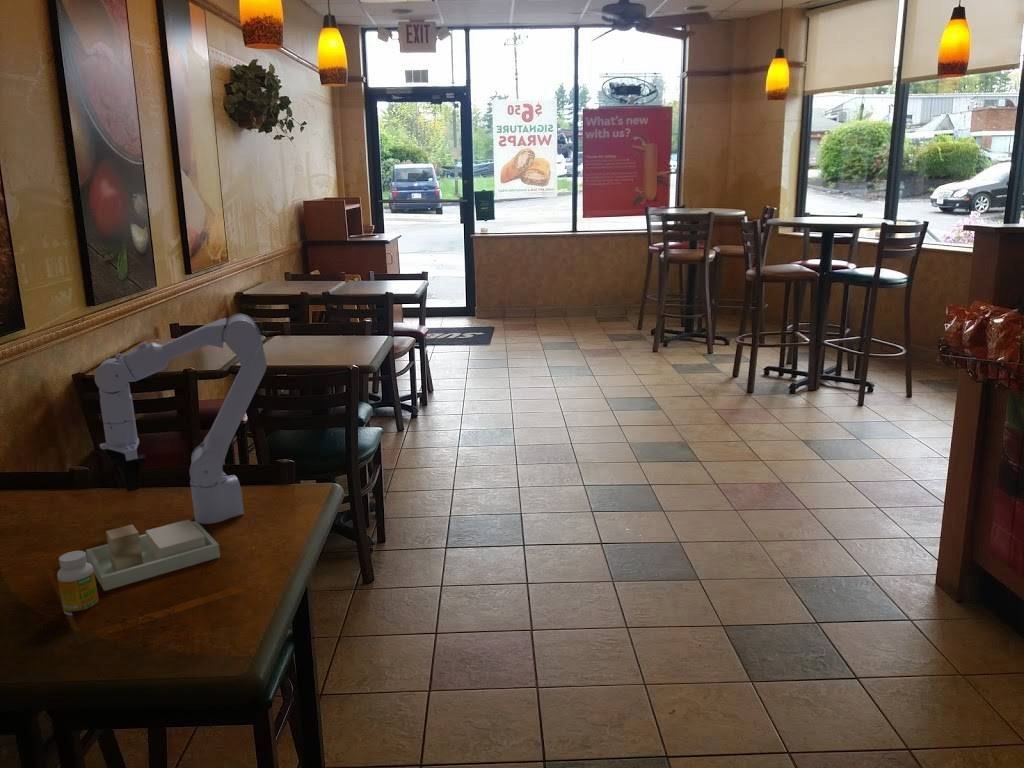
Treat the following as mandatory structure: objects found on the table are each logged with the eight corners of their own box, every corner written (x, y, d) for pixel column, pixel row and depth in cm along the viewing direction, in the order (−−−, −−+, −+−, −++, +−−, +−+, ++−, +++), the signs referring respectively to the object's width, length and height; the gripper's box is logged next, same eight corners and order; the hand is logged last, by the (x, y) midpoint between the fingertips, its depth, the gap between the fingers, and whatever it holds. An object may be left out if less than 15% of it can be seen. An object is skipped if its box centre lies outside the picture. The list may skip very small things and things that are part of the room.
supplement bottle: (84, 618, 134) (75, 564, 132) (56, 615, 136) (46, 562, 133) (106, 601, 140) (97, 549, 137) (79, 599, 141) (69, 547, 138)
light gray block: (191, 538, 161) (188, 519, 160) (207, 555, 153) (204, 536, 152) (148, 549, 156) (145, 530, 155) (162, 568, 149) (159, 548, 148)
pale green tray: (198, 536, 164) (196, 520, 163) (220, 561, 153) (218, 544, 152) (88, 566, 152) (86, 549, 151) (104, 595, 141) (101, 577, 141)
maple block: (137, 558, 153) (132, 524, 151) (143, 567, 149) (138, 532, 147) (111, 566, 150) (106, 531, 148) (117, 575, 147) (111, 539, 145)
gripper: (89, 415, 164) (98, 479, 167) (105, 432, 153) (115, 500, 156) (126, 409, 168) (135, 471, 172) (145, 425, 157) (153, 491, 160)
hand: (128, 484), depth 164 cm, fingers open, 7 cm apart
